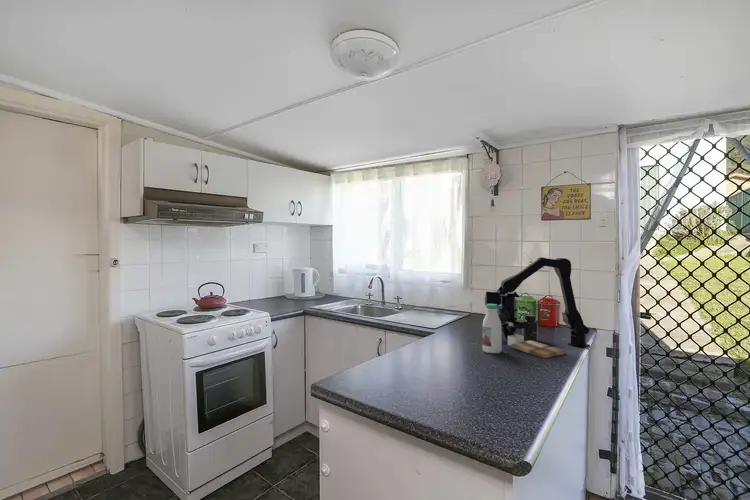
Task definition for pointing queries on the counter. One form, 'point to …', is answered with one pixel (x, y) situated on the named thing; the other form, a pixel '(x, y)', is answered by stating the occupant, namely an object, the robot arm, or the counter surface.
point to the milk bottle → (492, 330)
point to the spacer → (515, 339)
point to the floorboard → (548, 352)
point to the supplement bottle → (530, 329)
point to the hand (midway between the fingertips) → (508, 340)
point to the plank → (528, 346)
